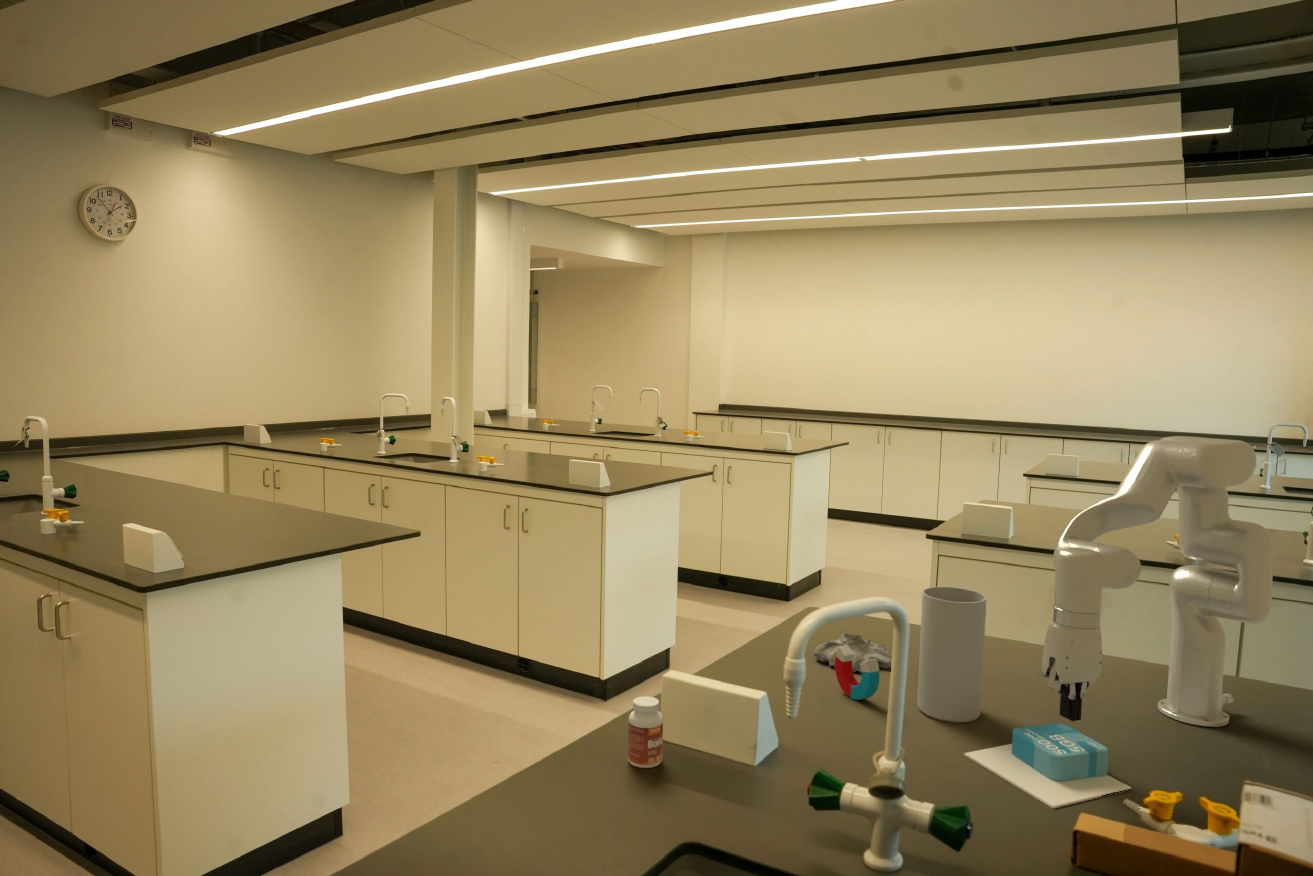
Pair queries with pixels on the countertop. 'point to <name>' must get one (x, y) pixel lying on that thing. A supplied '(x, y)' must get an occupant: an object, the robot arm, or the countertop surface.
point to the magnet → (847, 678)
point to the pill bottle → (645, 733)
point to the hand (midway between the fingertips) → (1070, 717)
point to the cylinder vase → (951, 653)
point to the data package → (1060, 752)
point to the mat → (1043, 779)
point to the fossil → (854, 651)
